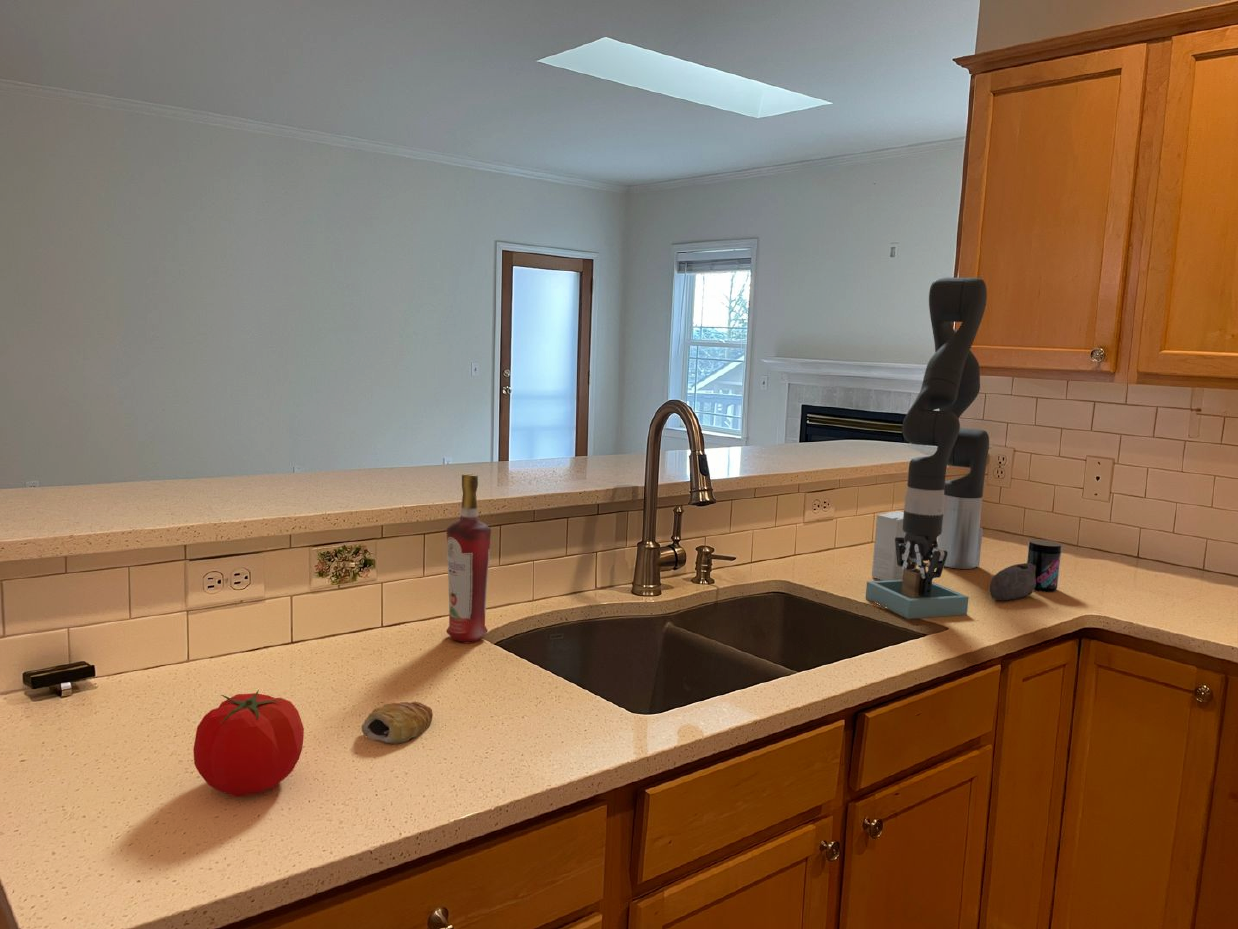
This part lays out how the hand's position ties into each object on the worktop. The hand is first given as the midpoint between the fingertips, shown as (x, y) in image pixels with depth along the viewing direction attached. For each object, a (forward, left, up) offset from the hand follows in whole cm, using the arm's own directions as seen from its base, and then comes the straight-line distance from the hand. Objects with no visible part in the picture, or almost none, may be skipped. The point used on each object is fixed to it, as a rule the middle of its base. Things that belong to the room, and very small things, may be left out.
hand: (916, 592), depth 184 cm
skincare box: (-9, -20, -3) cm, 22 cm away
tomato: (+123, +44, -3) cm, 131 cm away
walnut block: (0, 0, -2) cm, 2 cm away
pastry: (+106, +34, -3) cm, 111 cm away
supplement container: (-38, -6, -3) cm, 39 cm away
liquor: (+91, 0, -3) cm, 91 cm away
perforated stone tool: (-25, -1, -3) cm, 25 cm away
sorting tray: (0, 0, -3) cm, 3 cm away
